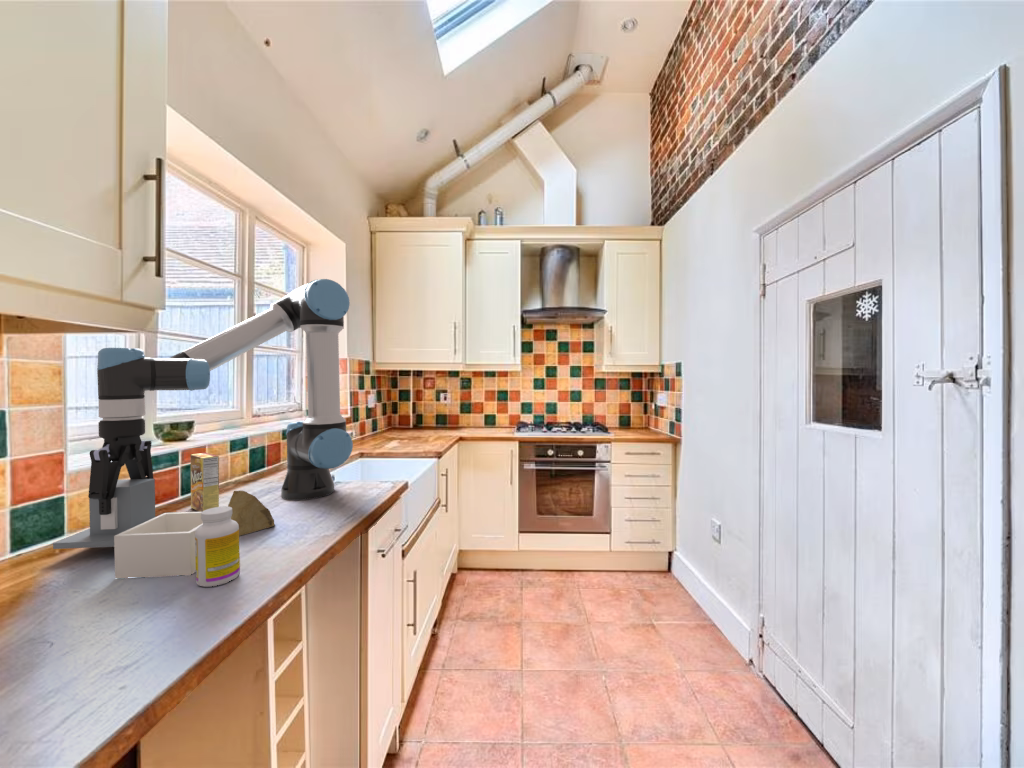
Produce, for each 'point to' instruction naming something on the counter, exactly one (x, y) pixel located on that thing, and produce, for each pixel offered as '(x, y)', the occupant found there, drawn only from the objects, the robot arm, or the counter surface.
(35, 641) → the counter surface
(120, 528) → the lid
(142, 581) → the counter surface
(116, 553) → the storage box
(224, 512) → the supplement bottle
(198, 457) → the candy box
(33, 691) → the counter surface
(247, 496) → the rock
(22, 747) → the counter surface
